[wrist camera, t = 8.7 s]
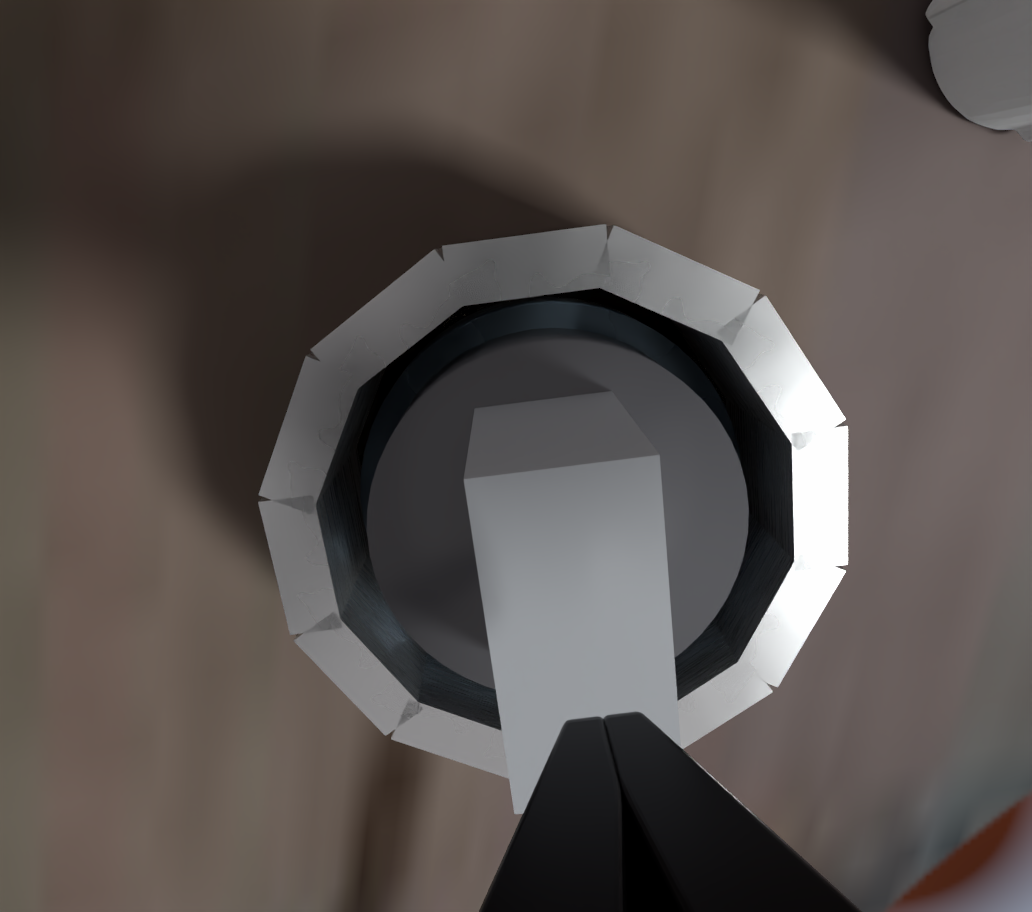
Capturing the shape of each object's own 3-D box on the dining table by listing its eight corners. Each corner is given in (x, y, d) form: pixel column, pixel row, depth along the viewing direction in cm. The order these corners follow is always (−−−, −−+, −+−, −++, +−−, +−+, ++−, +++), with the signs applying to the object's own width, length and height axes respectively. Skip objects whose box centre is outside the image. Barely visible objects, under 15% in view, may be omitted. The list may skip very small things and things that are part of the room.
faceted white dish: (365, 690, 19) (331, 805, 15) (274, 268, 16) (203, 277, 12) (775, 639, 19) (847, 741, 15) (763, 203, 16) (848, 191, 12)
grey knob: (413, 662, 16) (365, 888, 11) (355, 351, 14) (259, 423, 9) (724, 624, 16) (847, 832, 11) (709, 306, 14) (849, 348, 9)
